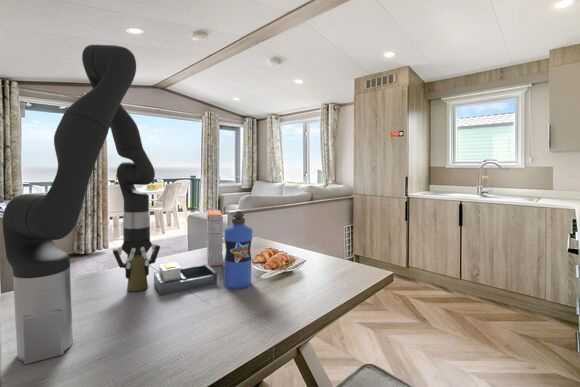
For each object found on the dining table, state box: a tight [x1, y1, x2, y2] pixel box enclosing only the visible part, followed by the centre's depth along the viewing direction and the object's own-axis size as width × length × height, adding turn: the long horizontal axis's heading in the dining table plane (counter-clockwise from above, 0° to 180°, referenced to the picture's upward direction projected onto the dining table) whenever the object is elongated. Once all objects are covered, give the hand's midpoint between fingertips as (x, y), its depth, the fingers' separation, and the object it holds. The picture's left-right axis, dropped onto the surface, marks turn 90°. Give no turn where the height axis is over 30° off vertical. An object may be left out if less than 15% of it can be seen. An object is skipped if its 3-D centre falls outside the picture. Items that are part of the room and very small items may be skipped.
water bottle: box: [223, 210, 253, 290], centre depth 101 cm, size 9×9×25 cm
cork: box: [126, 255, 149, 292], centre depth 96 cm, size 6×6×11 cm
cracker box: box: [206, 209, 224, 267], centre depth 125 cm, size 14×6×21 cm, turn 17°
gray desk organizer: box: [153, 262, 218, 296], centre depth 101 cm, size 10×18×7 cm, turn 125°
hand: (137, 277), depth 96 cm, fingers closed on cork, 4 cm apart
